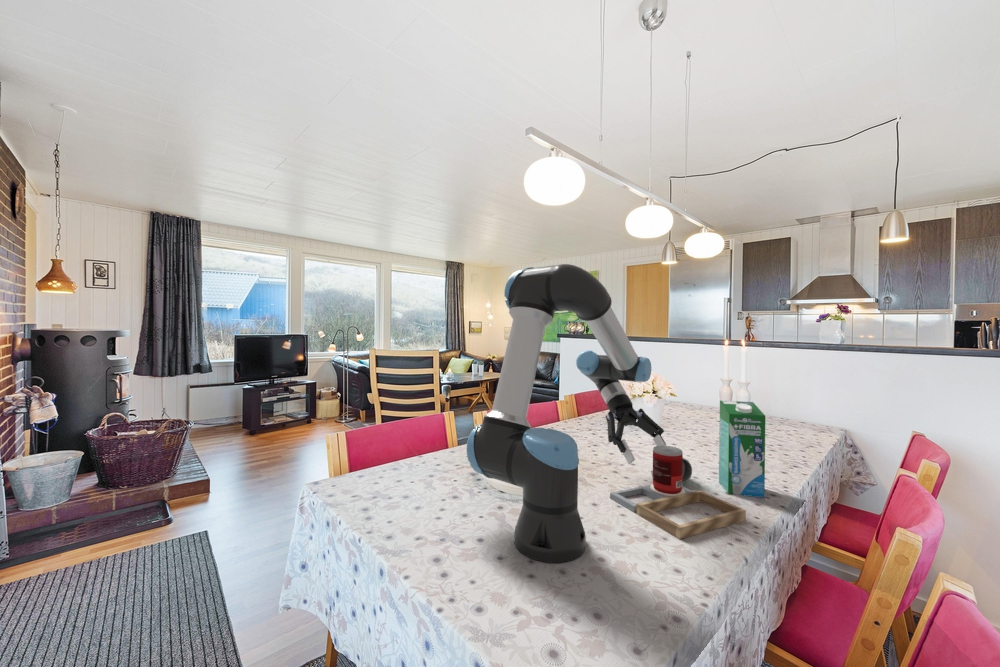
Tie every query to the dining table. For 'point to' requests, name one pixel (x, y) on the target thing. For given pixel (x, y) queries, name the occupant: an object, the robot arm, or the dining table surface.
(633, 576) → the dining table surface
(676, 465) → the canned food
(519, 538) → the robot arm
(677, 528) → the oak pen
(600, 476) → the dining table surface
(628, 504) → the grey rectangular frame
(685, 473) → the ceramic mug
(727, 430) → the milk carton
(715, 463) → the dining table surface
